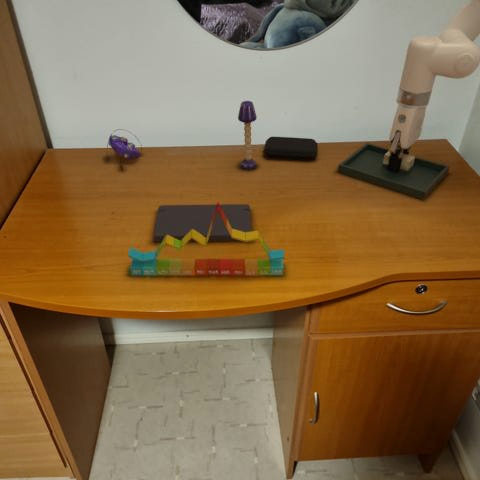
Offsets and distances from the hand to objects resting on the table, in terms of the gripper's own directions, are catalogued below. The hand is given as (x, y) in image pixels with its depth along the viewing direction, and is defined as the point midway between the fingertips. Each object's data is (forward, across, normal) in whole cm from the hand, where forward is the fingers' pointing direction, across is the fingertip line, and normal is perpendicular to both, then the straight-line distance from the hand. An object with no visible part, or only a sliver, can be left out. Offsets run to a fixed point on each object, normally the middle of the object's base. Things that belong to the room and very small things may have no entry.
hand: (396, 167), depth 128 cm
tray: (+1, -2, 0) cm, 2 cm away
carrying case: (+1, -8, +28) cm, 29 cm away
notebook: (+1, -51, +24) cm, 57 cm away
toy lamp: (+1, -22, +33) cm, 40 cm away
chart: (+1, -63, +13) cm, 65 cm away
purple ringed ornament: (+1, -40, +62) cm, 74 cm away
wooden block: (0, 0, 0) cm, 0 cm away
